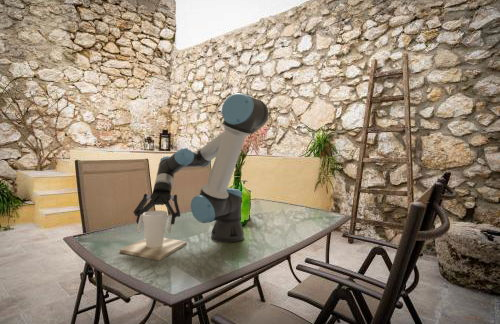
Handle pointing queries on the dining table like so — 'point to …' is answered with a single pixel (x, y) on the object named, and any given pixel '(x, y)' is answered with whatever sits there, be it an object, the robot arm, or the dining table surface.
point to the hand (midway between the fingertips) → (153, 231)
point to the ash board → (153, 249)
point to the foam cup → (154, 227)
